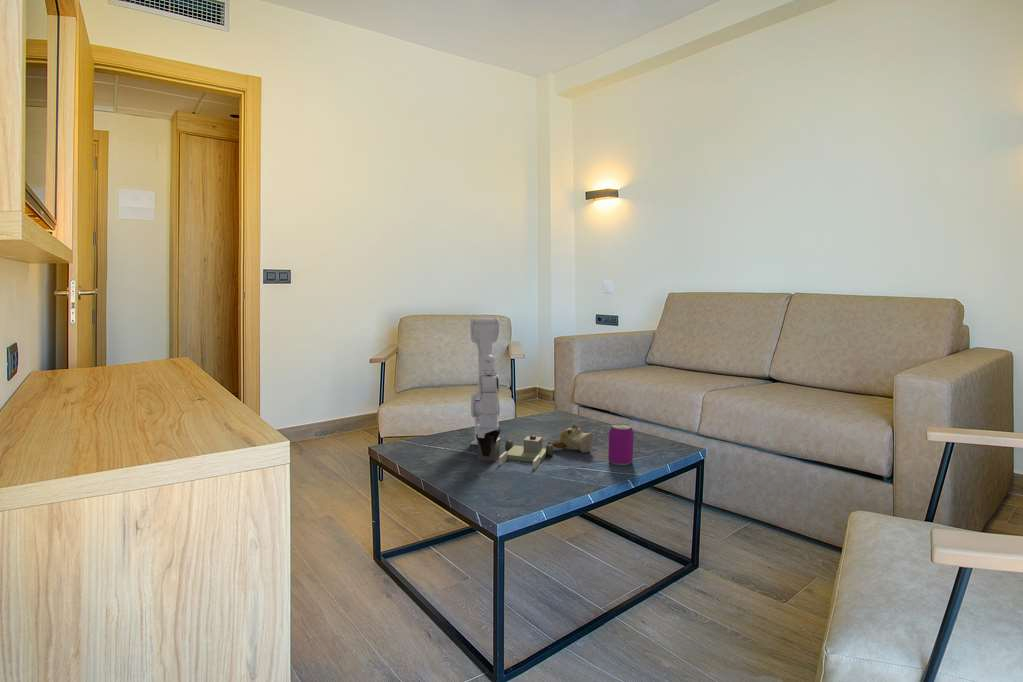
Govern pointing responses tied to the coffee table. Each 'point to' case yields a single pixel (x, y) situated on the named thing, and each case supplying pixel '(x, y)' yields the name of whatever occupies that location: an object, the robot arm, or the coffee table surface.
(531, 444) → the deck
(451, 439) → the coffee table surface
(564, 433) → the ceramic sculpture
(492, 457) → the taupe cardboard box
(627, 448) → the beverage can
